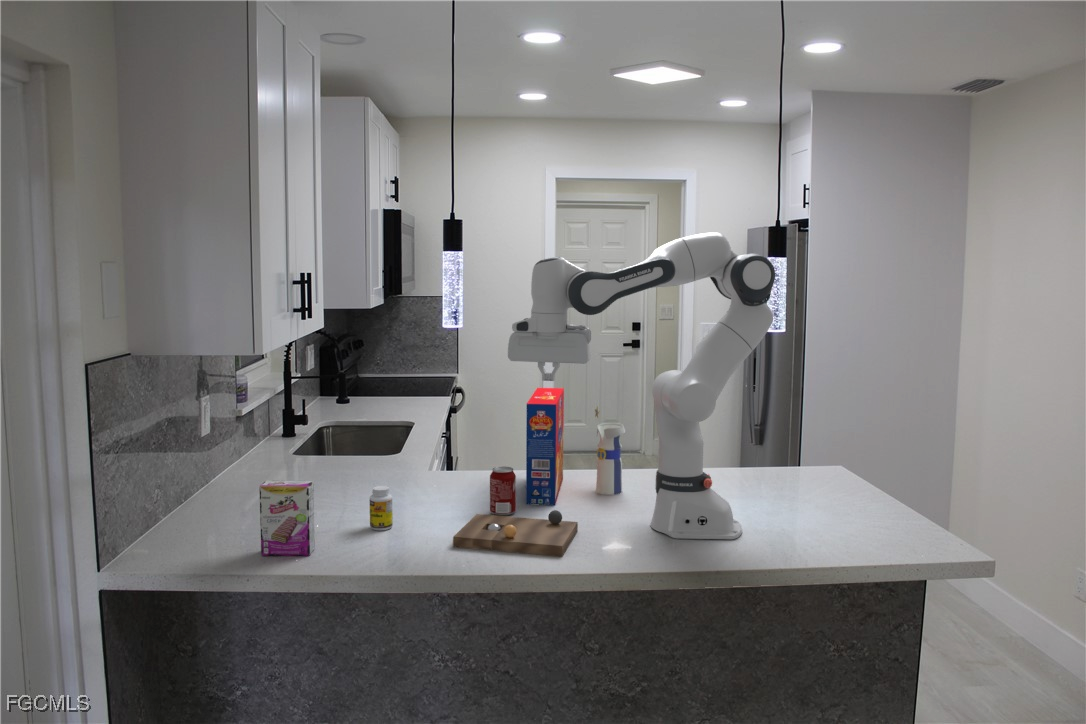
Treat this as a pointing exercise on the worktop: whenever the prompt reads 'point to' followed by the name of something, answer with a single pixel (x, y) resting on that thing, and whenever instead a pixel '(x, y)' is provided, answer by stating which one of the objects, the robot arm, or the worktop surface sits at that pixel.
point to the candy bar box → (287, 518)
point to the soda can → (502, 491)
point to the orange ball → (510, 531)
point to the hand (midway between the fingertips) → (548, 380)
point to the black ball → (555, 517)
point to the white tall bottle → (609, 458)
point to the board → (517, 535)
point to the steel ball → (494, 527)
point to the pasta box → (544, 446)
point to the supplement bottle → (381, 509)
